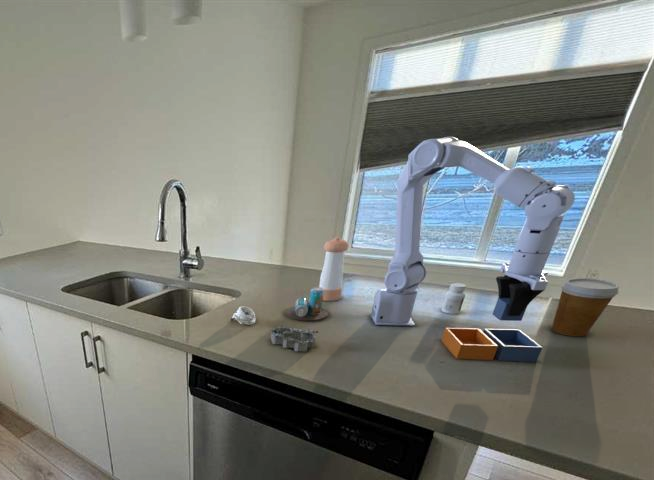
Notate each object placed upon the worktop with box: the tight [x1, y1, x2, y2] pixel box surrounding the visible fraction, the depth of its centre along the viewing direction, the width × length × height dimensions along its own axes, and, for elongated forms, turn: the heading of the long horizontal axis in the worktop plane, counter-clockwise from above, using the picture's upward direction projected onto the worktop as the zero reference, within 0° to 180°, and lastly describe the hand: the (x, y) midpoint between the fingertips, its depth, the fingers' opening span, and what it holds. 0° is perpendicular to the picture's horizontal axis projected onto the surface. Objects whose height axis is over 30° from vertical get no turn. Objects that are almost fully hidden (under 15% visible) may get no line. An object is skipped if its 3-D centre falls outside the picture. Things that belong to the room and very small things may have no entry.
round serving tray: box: [285, 286, 329, 322], centre depth 121 cm, size 12×12×8 cm
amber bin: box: [441, 327, 498, 361], centre depth 95 cm, size 7×10×4 cm
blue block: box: [492, 298, 528, 322], centre depth 92 cm, size 4×4×4 cm
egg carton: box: [269, 325, 319, 353], centre depth 105 cm, size 11×8×4 cm
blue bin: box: [482, 328, 543, 363], centre depth 92 cm, size 7×10×4 cm
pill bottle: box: [441, 282, 467, 315], centre depth 114 cm, size 4×4×8 cm
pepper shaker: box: [317, 236, 350, 302], centre depth 129 cm, size 7×7×19 cm
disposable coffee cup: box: [551, 277, 620, 337], centre depth 96 cm, size 10×10×12 cm
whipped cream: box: [230, 305, 256, 326], centre depth 121 cm, size 8×7×5 cm
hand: (508, 311), depth 92 cm, fingers closed on blue block, 4 cm apart
